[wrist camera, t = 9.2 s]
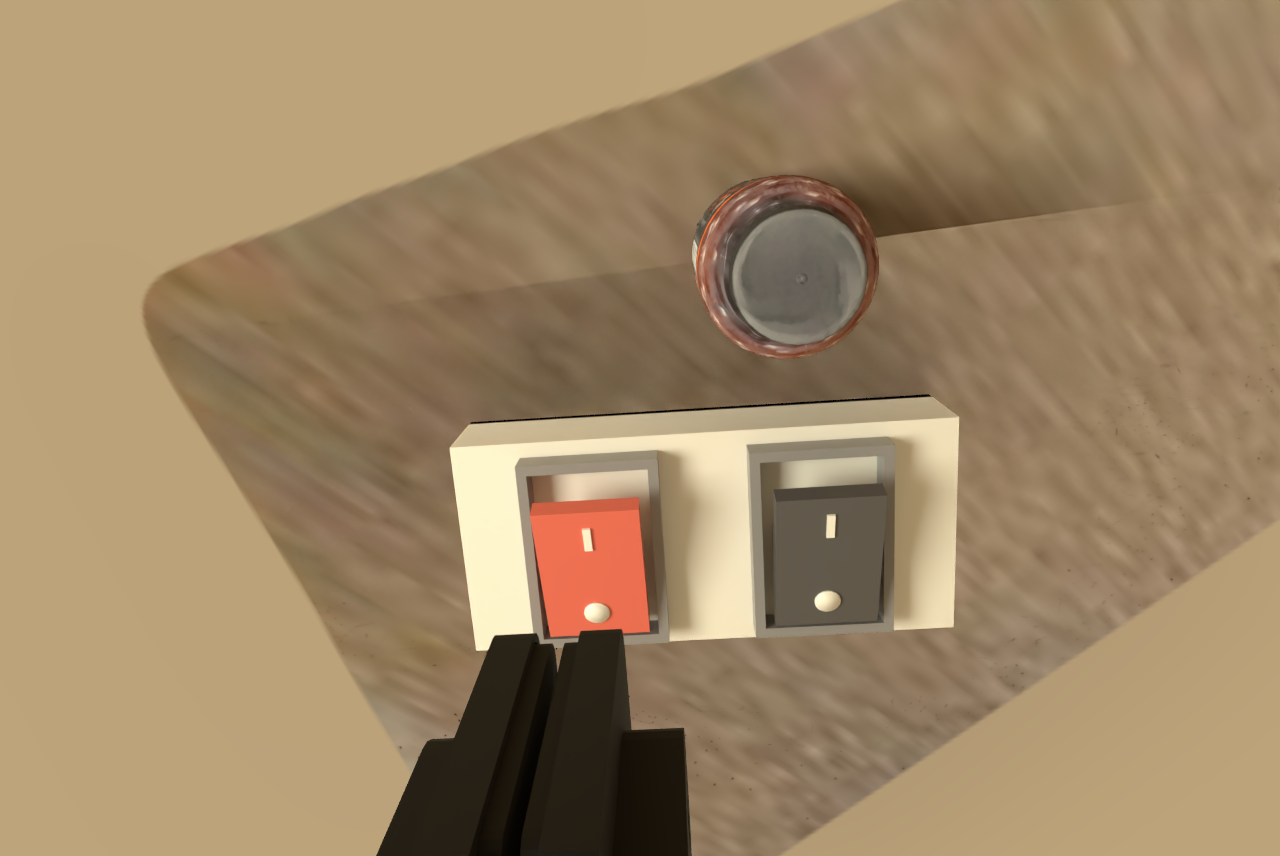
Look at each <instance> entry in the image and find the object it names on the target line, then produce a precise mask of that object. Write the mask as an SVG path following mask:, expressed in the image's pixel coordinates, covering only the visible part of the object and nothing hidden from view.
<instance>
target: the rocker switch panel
mask: <svg viewBox="0 0 1280 856" xmlns="http://www.w3.org/2000/svg"><path fill="white" fill-rule="evenodd" d="M958 436H959V417H958V416H957V415H955V414H954V413H953V412H952V411H950V410H949V409H948V408H946V407H945V406H944V405H942V404H941V403H940V402H938V401H937V400H936V399H934V398H933V397H932V396H931V395H929V394H922V395H906V396H890V397H873V398H857V399H840V400H824V401H808V402H791V403H775V404H759V405H742V406H726V407H710V408H693V409H677V410H660V411H644V412H628V413H611V414H595V415H579V416H562V417H546V418H530V419H513V420H497V421H480V422H471V423H470V424H469V425H468V426H467V428H466V429H465V430H464V431H463V432H462V434H461V435H460V436H459V437H458V438H457V439H456V441H455V442H454V443H453V444H452V445H451V447H450V455H451V462H452V470H453V478H454V485H455V493H456V500H457V508H458V515H459V523H460V531H461V538H462V546H463V553H464V561H465V568H466V576H467V584H468V591H469V599H470V606H471V614H472V621H473V629H474V637H475V644H476V651H478V650H488V649H489V647H490V644H491V642H492V639H493V637H494V636H495V635H509V634H529V633H537V635H538V637H539V641H540V644H550V643H553V645H554V648H563V647H564V643H570V642H578V639H579V635H578V636H557V637H550V631H549V625H548V619H547V613H546V608H545V602H544V596H543V590H542V584H541V578H540V572H539V567H538V561H537V555H536V549H535V543H534V537H533V532H532V526H531V520H530V513H531V508H532V503H546V502H563V501H581V500H599V499H616V498H634V497H639V505H640V516H641V527H642V538H643V549H644V560H645V571H646V582H647V592H648V603H649V614H650V632H638V633H623V637H624V645H628V644H648V643H669V642H670V641H681V640H701V639H721V638H742V637H756V638H770V637H790V636H811V635H831V634H851V633H872V632H892V631H894V630H904V629H924V628H944V627H953V625H954V587H955V549H956V512H957V474H958ZM876 483H883V485H884V488H885V490H886V493H887V495H888V498H887V510H886V522H885V534H884V546H883V558H882V570H881V582H880V594H879V606H878V619H877V621H862V622H842V623H821V624H801V625H781V626H776V625H775V620H774V614H773V550H772V523H773V489H788V488H806V487H823V486H841V485H858V484H876Z"/></svg>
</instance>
